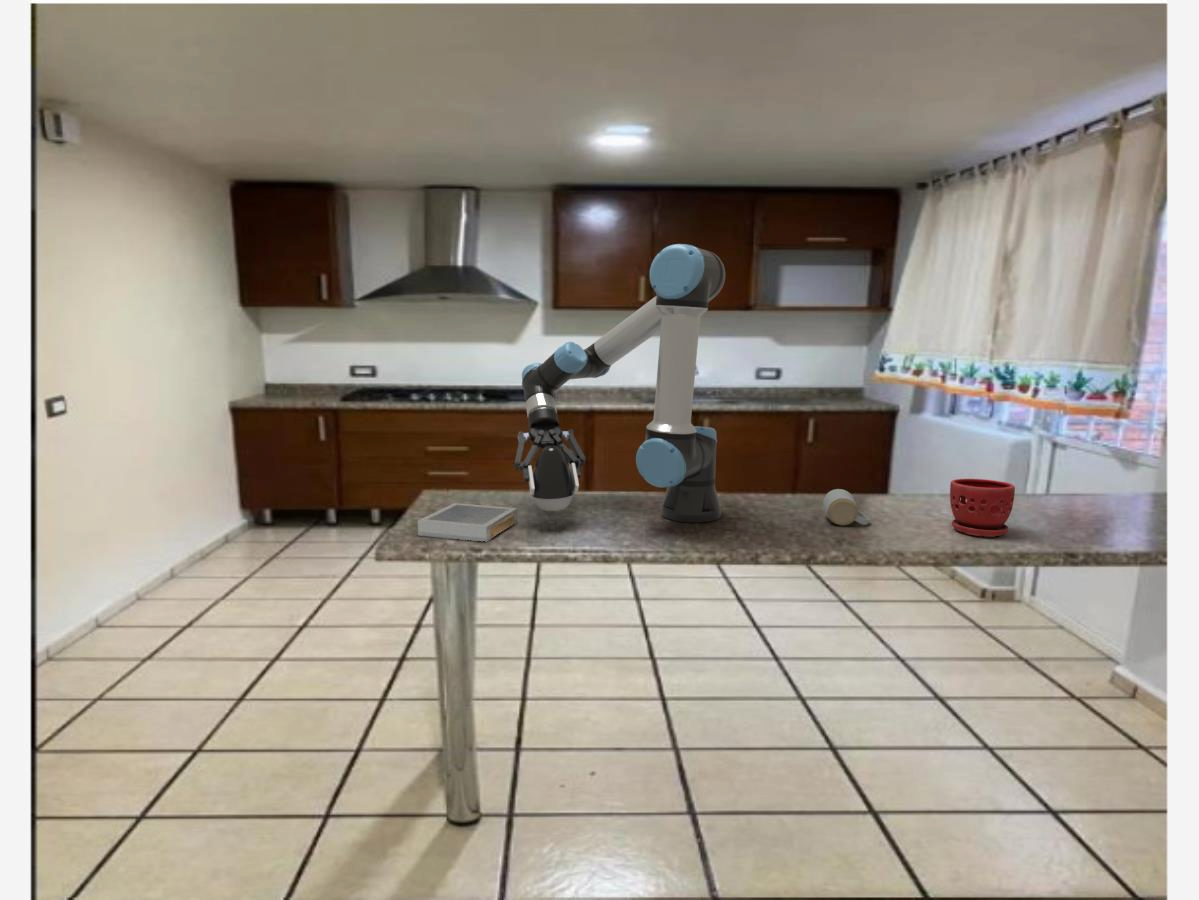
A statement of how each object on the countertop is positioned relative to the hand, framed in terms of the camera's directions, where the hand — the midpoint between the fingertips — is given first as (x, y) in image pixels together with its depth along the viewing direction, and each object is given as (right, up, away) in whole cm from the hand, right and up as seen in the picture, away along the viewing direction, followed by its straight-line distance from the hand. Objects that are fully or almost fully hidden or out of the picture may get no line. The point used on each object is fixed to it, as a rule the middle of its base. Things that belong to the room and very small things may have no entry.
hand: (554, 490), depth 155 cm
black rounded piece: (-1, -5, +4) cm, 6 cm away
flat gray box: (-20, -9, +2) cm, 22 cm away
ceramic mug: (+71, -9, +10) cm, 72 cm away
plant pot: (+100, -10, +2) cm, 100 cm away
